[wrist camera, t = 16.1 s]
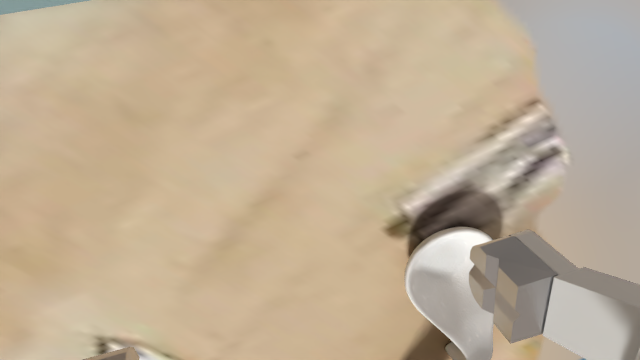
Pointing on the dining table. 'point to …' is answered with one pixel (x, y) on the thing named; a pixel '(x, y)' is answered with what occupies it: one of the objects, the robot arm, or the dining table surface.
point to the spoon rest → (451, 291)
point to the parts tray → (30, 4)
